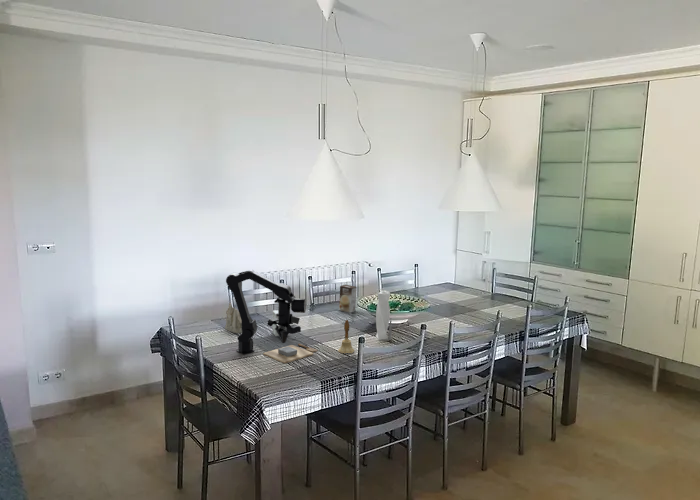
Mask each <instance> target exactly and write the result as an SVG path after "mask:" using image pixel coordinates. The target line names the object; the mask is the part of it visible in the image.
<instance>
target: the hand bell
mask: <svg viewBox="0 0 700 500" xmlns="http://www.w3.org/2000/svg"><path fill="white" fill-rule="evenodd" d="M343 326H344V327H343V328H344V339H342V341H341V345H340V347H339V348H338V350H337V351H338V352H339V353H340V354H343V353H344V354H343V355H346V354H345V353H351V354H354V353H355V352H354V351H355V348H353V346H352V341H351V339H350V338H349V332H350V322H349V320H347V319H346V320H345V321H344V325H343ZM353 352H354V353H353Z"/></svg>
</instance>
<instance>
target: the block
mask: <svg viewBox="0 0 700 500" xmlns="http://www.w3.org/2000/svg"><path fill="white" fill-rule="evenodd" d="M288 346H289V345H287V347H286V346H283V347H284V348H282V347H279V348H280V349H279V348H277V349H278V353H280V354H282V355H284V356H287V357H289V356H292V355H295V354H297V350H296V349H293V348H291V347H288Z"/></svg>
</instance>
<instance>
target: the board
mask: <svg viewBox="0 0 700 500" xmlns="http://www.w3.org/2000/svg"><path fill="white" fill-rule="evenodd" d="M287 346H288V347H291V348H293V349H296V350H297V354H295V355H292V356H289V357H287V356H284V355H282V354H280V353H278V349H280V348H284V347H287ZM287 346H283V347H279V348H275V349H273V350H269V351H265V352H263V355H264V356H266V357H268V358H271V359H273V360H275V361H278V362H280V363H282V364H287V363H291V362H294V361H297V360H300V359H304V358H307V357H310V356H313V355H314V352H310V351H308V350H306V349H305V348H301V347H300V346H299V347H298V346H296V345H294V344H290V345H287Z"/></svg>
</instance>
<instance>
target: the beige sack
mask: <svg viewBox="0 0 700 500" xmlns="http://www.w3.org/2000/svg"><path fill="white" fill-rule="evenodd" d="M225 322H226V323H225V326H224V329H226V330H225V331H229V332H231V333H233V334H241V333H242V328H241V326H242V320H241V317H240V314H239V311H238V308H235V307H233V305H232V303H231V302H229V303H228V308H227V310H226V318H225Z"/></svg>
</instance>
